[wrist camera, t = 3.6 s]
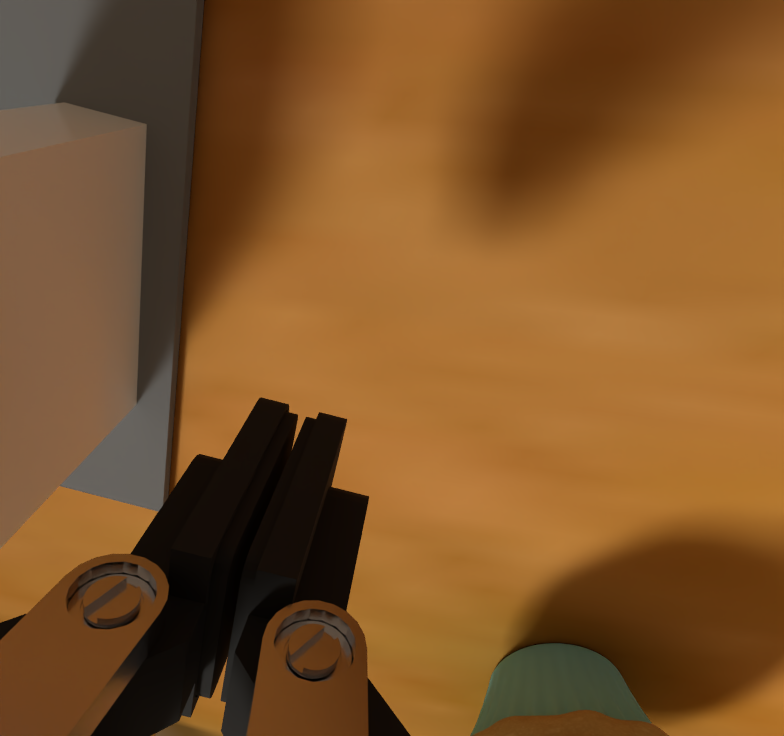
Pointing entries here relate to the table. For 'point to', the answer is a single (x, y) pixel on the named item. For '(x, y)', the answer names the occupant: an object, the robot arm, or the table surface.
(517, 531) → the table surface
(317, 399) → the table surface
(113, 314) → the tile
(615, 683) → the cupcake
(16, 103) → the mat
